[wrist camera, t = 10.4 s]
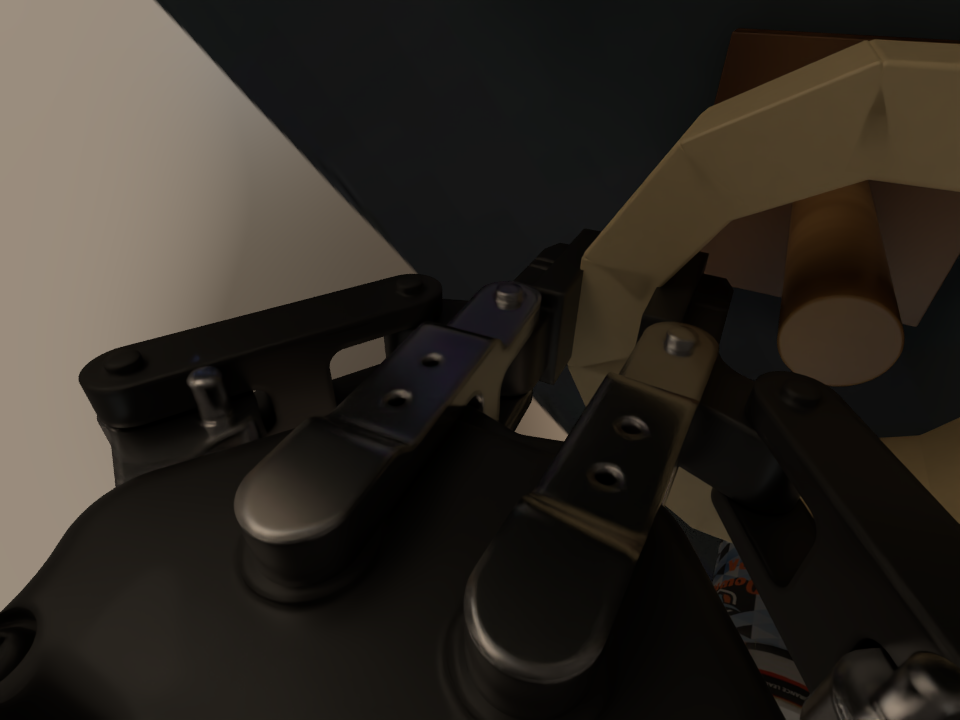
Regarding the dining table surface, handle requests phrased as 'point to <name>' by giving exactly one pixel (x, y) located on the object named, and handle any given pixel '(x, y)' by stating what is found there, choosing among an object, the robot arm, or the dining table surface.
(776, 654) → the beverage can
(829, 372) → the peg stand
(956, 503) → the tape roll
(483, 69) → the dining table surface
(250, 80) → the dining table surface
